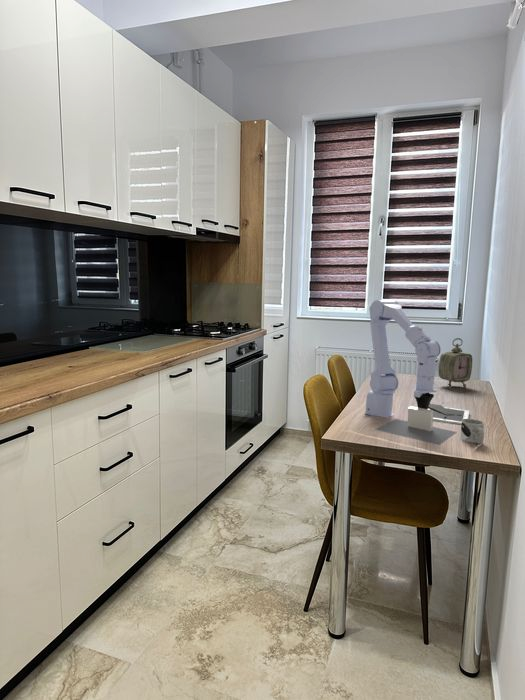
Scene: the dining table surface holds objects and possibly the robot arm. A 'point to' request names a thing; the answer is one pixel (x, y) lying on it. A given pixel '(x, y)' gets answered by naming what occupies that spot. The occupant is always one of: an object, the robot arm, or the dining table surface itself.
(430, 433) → the mat
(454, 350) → the tabletop clock
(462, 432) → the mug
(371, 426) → the dining table surface
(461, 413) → the picture frame
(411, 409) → the tile
